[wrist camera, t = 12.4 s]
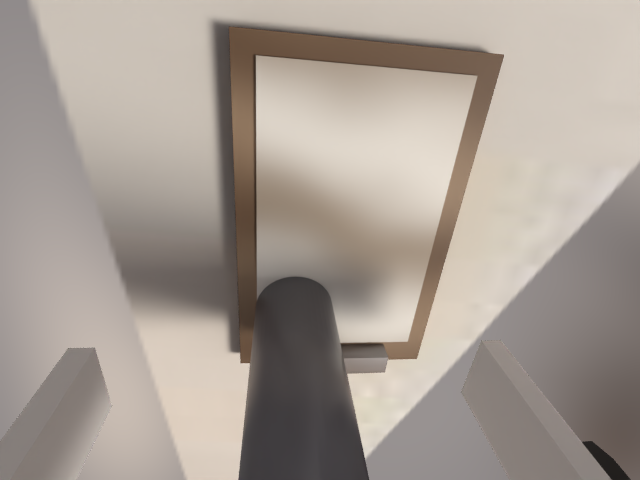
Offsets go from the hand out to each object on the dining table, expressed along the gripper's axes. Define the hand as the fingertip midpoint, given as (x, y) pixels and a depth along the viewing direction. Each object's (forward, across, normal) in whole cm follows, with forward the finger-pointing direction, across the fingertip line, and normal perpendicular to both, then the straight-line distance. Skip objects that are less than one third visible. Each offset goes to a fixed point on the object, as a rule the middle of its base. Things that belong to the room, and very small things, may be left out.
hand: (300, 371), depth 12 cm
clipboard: (+4, +2, +3) cm, 6 cm away
